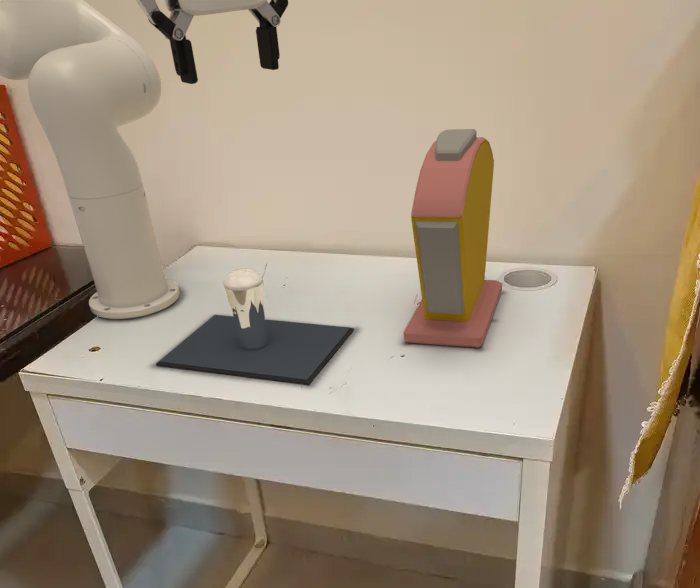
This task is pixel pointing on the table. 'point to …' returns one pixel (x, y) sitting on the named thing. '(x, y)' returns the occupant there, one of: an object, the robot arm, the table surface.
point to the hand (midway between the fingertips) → (230, 75)
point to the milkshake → (247, 306)
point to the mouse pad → (259, 350)
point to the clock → (453, 242)
